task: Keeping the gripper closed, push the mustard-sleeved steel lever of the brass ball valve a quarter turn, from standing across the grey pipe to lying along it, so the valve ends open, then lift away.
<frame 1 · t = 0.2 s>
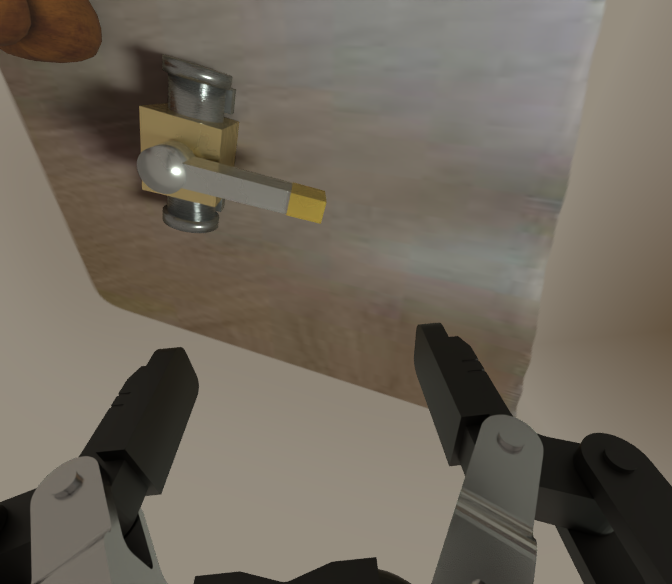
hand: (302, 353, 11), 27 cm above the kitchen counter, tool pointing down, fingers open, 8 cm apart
wooden figurine: (73, 23, 26), on the kitchen counter
lever: (239, 185, 25), point 10 cm above the kitchen counter, hinge at 90.0°
ball valve: (205, 147, 32), on the kitchen counter
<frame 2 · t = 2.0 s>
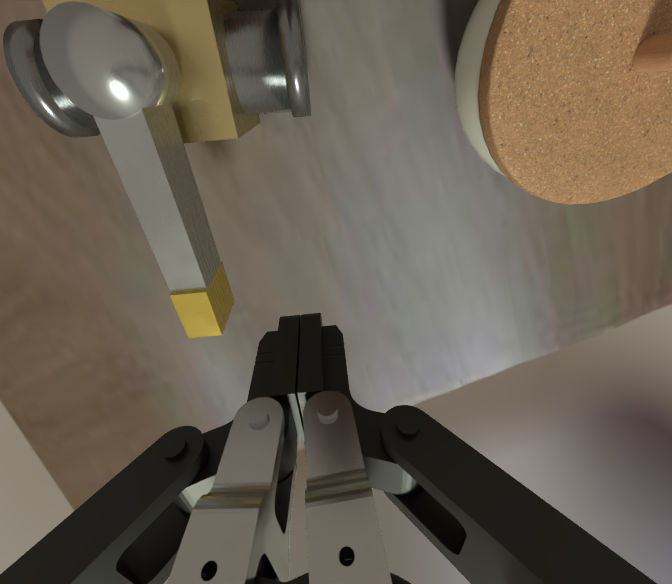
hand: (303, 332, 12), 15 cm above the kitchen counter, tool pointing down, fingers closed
lever: (171, 203, 15), point 10 cm above the kitchen counter, hinge at 90.0°
ball valve: (199, 74, 20), on the kitchen counter
lidded bowl: (521, 65, 21), on the kitchen counter
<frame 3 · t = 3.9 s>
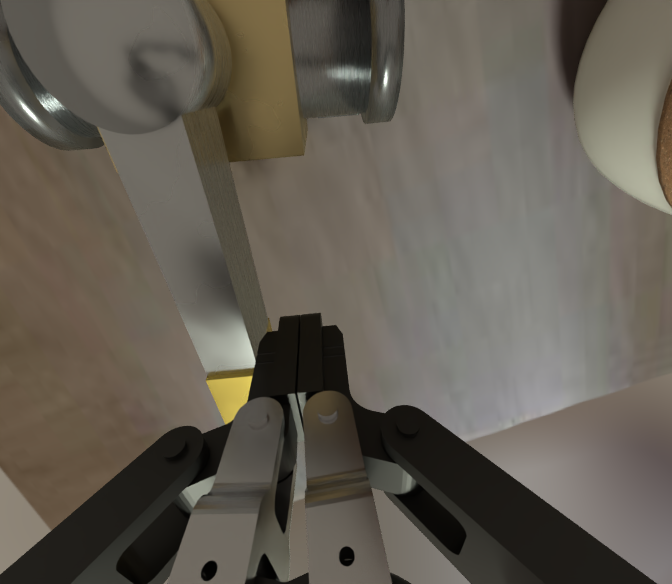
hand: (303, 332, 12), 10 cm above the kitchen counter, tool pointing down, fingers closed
lever: (210, 252, 10), point 10 cm above the kitchen counter, hinge at 90.0°, touching gripper
ball valve: (233, 65, 15), on the kitchen counter
lidded bowl: (647, 56, 16), on the kitchen counter
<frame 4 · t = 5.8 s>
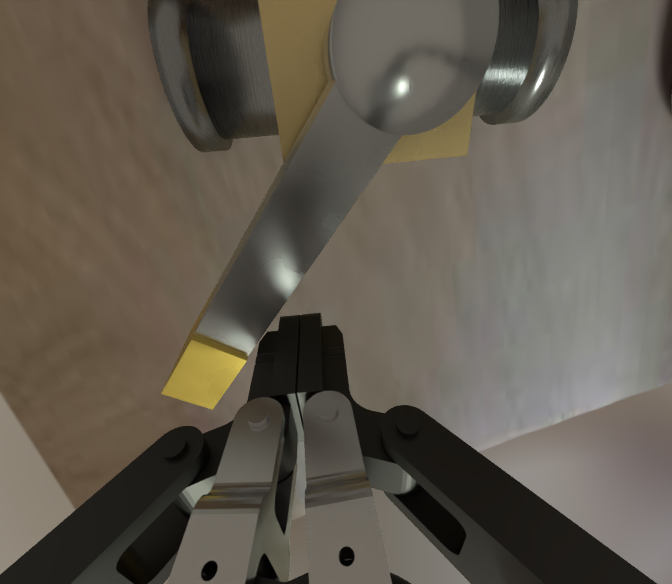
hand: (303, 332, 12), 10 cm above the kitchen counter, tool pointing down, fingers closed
lever: (285, 228, 10), point 10 cm above the kitchen counter, hinge at 51.6°, touching gripper
ball valve: (348, 68, 15), on the kitchen counter
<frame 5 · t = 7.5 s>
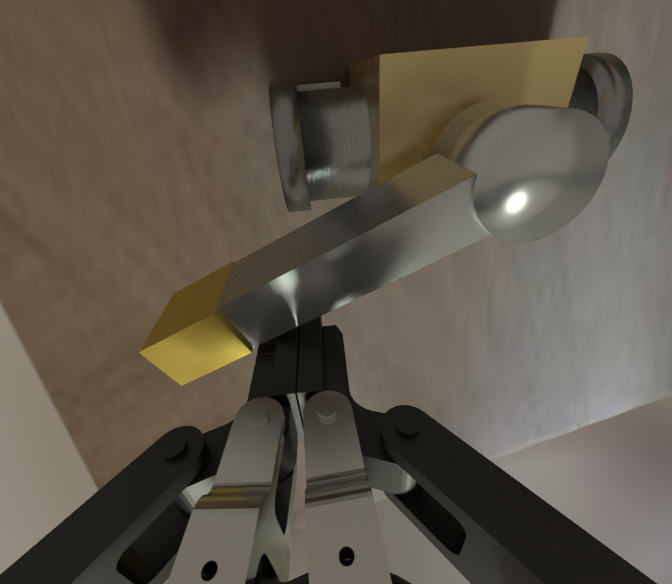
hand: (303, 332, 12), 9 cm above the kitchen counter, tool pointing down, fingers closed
lever: (345, 249, 10), point 10 cm above the kitchen counter, hinge at 23.1°, touching gripper
ball valve: (410, 128, 17), on the kitchen counter
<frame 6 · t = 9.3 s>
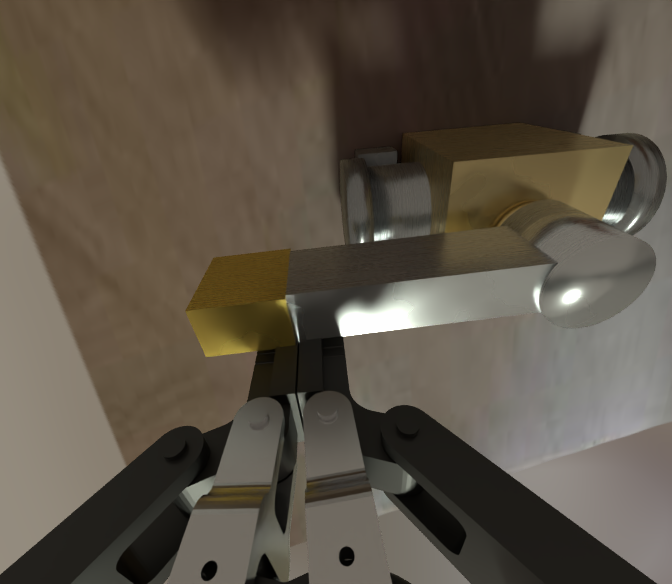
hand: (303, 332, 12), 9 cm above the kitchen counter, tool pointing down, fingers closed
lever: (409, 278, 11), point 10 cm above the kitchen counter, hinge at 1.2°, touching gripper
ball valve: (453, 184, 19), on the kitchen counter
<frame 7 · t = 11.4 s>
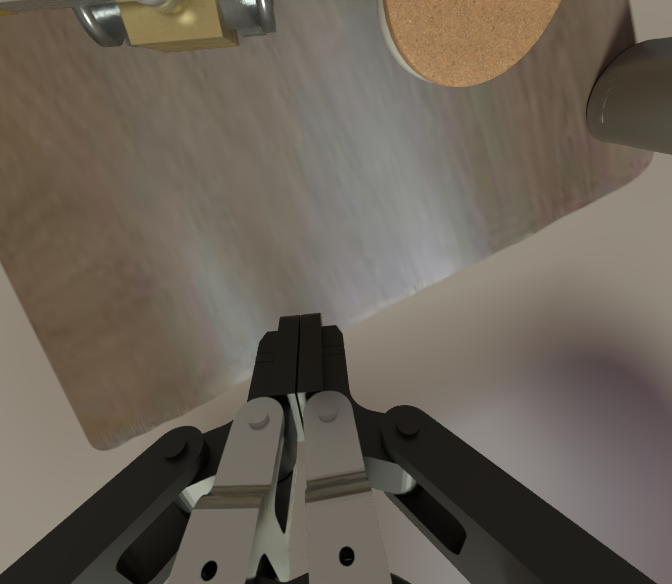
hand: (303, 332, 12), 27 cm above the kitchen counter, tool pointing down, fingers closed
ball valve: (192, 4, 27), on the kitchen counter
lidded bowl: (431, 1, 28), on the kitchen counter
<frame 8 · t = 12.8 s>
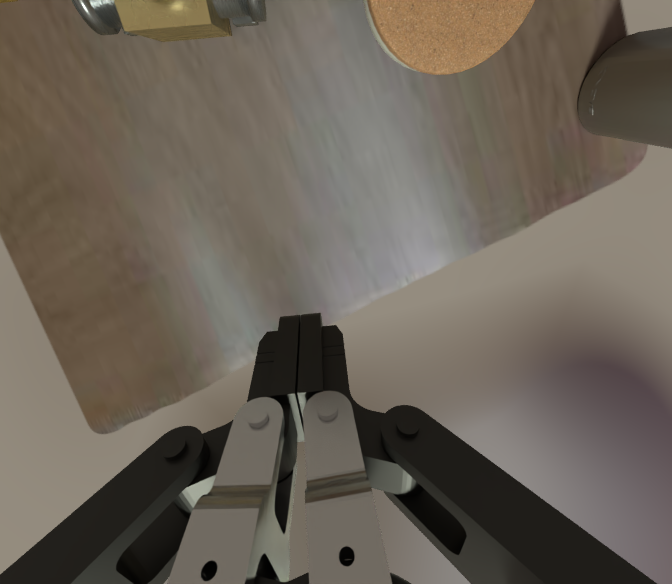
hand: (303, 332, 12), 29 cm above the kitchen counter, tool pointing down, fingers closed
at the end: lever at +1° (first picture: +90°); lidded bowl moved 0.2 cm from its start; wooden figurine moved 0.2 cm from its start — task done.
